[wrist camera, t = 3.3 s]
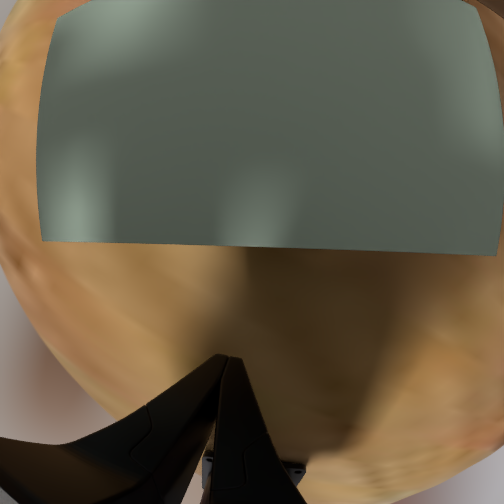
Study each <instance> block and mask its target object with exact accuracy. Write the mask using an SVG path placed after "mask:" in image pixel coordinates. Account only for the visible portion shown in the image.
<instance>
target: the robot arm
mask: <svg viewBox="0 0 504 504" xmlns="http://www.w3.org/2000/svg"><path fill="white" fill-rule="evenodd" d="M215 421H216V428H215V438H214V449H213V452H204V454H203V457H202V488H203V489H204V492H203V495H202V499H201V502H200V504H307V503H306V501H305V500H304V498H303V497H302V495H301V494H300V492H299V491H298V489H297V487H296V486H297V485H298V483H299V482H300V481H301V479H302V478H303V476H304V475H305V473H306V466H305V465H303V464H292V463H282V462H281V461H280V459H279V457H278V455H277V452H276V450H275V448H274V446H273V443H272V441H271V438H270V435H269V434H268V430H267V428H266V425H265V422H264V420H263V417H262V414H261V411H260V409H259V406H258V403H257V400H256V397H255V395H254V392H253V389H252V386H251V383H250V380H249V377H248V374H247V371H246V368H245V366H244V363H243V360H242V359H241V358H238V357H233V356H230V357H228V356H227V355H222V354H215V355H213V356H212V357H211V358H209V359H208V360H207V361H205V362H204V363H203V364H201V365H200V366H199V367H197V368H196V369H195V370H193V371H192V372H191V373H189V374H188V375H186V376H185V377H184V378H182V379H181V380H180V381H178V382H177V383H175V384H174V385H173V386H171V387H170V388H168V389H167V390H165V391H164V392H163V393H161V394H160V395H158V396H157V397H155V398H154V399H153V400H151V401H150V402H148V403H147V404H146V405H144V406H142V407H141V408H139V409H138V410H136V411H135V412H133V413H131V414H130V415H128V416H126V417H125V418H123V419H121V420H119V421H117V422H115V423H113V424H112V425H110V426H108V427H106V428H103V429H101V430H99V431H97V432H94V433H92V434H90V435H88V436H85V437H83V438H81V439H78V440H76V441H73V442H70V443H66V444H60V445H48V444H40V443H32V442H25V441H19V440H13V439H8V438H3V437H0V504H181V502H182V500H183V497H184V495H185V493H186V491H187V488H188V486H189V484H190V481H191V479H192V477H193V474H194V472H195V470H196V467H197V465H198V463H199V460H200V458H201V456H202V453H203V451H204V448H205V446H206V444H207V441H208V439H209V436H210V434H211V431H212V429H213V427H214V424H215Z"/></svg>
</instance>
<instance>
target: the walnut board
mask: <svg viewBox="0 0 504 504" xmlns="http://www.w3.org/2000/svg"><path fill="white" fill-rule="evenodd" d="M478 1H479V2H481V3H482V4H484V5H485V6H487V7H488V8H490V9H491V10H493V11H494V12H495V13H497V14H498V15H500V16H501V17H502V18H504V0H478Z"/></svg>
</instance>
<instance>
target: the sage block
mask: <svg viewBox="0 0 504 504" xmlns="http://www.w3.org/2000/svg"><path fill="white" fill-rule="evenodd" d="M36 175H37V196H38V209H39V219H40V228H41V235H42V241H61V242H105V243H145V244H182V245H216V246H249V247H279V248H309V249H337V250H364V251H390V252H415V253H439V254H462V255H484V256H496V254H497V249H498V243H499V237H500V230H501V223H502V214H503V203H504V127H503V116H502V108H501V100H500V94H499V88H498V82H497V77H496V72H495V68H494V63H493V59H492V55H491V52H490V48H489V44H488V41H487V38H486V34H485V31H484V28H483V25H482V22H481V20H480V17H479V14H478V12H477V9H476V8H475V7H474V6H472V5H470V4H468V3H466V2H464V1H462V0H91V1H89V2H87V3H85V4H83V5H81V6H79V7H77V8H75V9H73V10H72V11H70V12H68V13H66V14H64V15H62V16H61V17H59V18H57V22H56V25H55V28H54V32H53V35H52V39H51V43H50V47H49V51H48V56H47V60H46V65H45V70H44V76H43V82H42V88H41V96H40V104H39V113H38V126H37V146H36Z"/></svg>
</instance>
